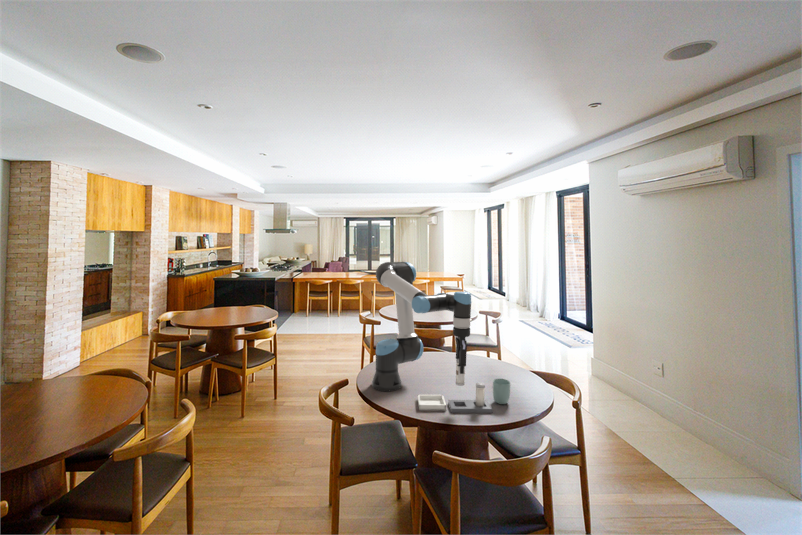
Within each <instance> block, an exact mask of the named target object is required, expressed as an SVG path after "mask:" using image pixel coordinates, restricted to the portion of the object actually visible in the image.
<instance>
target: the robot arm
mask: <svg viewBox="0 0 802 535" xmlns="http://www.w3.org/2000/svg"><path fill="white" fill-rule="evenodd" d="M416 278H417V271H416V268H415V266H414V265H413V264H412V263H411V262H408V261H386V262H383V263H381V264H380V265H378V266H377V268H376V271H375V279H376V281H377V282H378V284H380V285H382V287H385V288H389V289H390V290H391V291H393V292H394V295H395V303H396V304H395V305H396V315H397V316H396V318H397V328H398V335H396V339H395V338H389V339H388V338H387V339H382V340H380V341H378V342H377V343H376V345H375V346H376V347H375V372H374V374H373V377H372V381H371V387H372V388H373V389H374V390H376V391H381V392H394V391H397V390H400V389H401V387H402V379H401V376H400V373H399V365H400V364H405V363H408V362H416V361H417V360H419V359H421V357H422V356H423V353H424V344H423V342H422V340H421V338H419V336H418V334H417V333H416V332H415V324H414V313H417V314H427V313H433V312H443V311H449V312H452V313H453V320H452V325H453V328H452V335H453V336H455V360H456V359H459V365H457V366H458V380H461V381H464V382H465V379H464V376H465V374H466V373H465V372H466V367H467V348H468V344H467V340H466V338H468V337H470V336H471V322H472V321H473V320H472V319H471V314H472V313H471V312H472V294H471V293H470V292H467V291H455V292H454V293H453V294H449V293H447V292H438V293H437V294H426V293H425V292H423V291H422V290H420V289H419V288H418V287H416V286H414V284H413V283H414V282H415V281H416ZM413 311H414V313H413Z"/></svg>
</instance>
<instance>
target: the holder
mask: <svg viewBox="0 0 802 535" xmlns="http://www.w3.org/2000/svg"><path fill="white" fill-rule="evenodd" d="M475 405H476V399H448V406H449V409H450V412H451V413H453V414H454V413H455V414H456V413H457V414H458V413H459V414H460V413H461V414H463V413H464V414H465V413H466V414H467V413H468V414H469V413H470V414H475V413H477V414H486V413H487V414H492V413H493V411H494V410H493V407H492V405H491V404H490V402H489V401H488V399H484V407H476V406H475Z"/></svg>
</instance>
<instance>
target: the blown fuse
mask: <svg viewBox="0 0 802 535" xmlns="http://www.w3.org/2000/svg"><path fill="white" fill-rule="evenodd" d="M455 361H456V362H455V363H456V366H455V367H456V368H455V385H456V386H460V387H463V386H465V379H466V378H465V376H464V381H461V380H458V366H457V365H459V359H456V358H455Z"/></svg>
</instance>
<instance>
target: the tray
mask: <svg viewBox="0 0 802 535" xmlns="http://www.w3.org/2000/svg"><path fill="white" fill-rule="evenodd" d="M417 404H418V406H417V407H418V410H419V411H442V412H443V411H444V412H445V411H447V403H446V400H445V397H444V395H443V394H417Z"/></svg>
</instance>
